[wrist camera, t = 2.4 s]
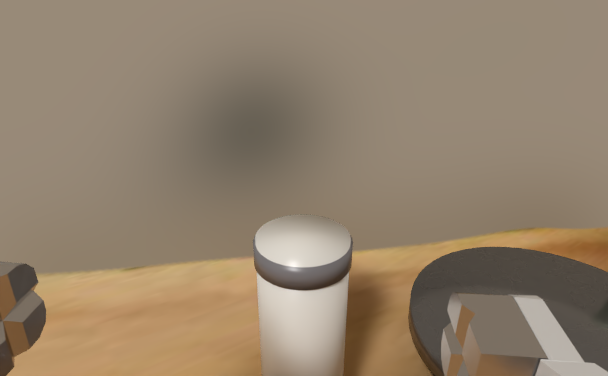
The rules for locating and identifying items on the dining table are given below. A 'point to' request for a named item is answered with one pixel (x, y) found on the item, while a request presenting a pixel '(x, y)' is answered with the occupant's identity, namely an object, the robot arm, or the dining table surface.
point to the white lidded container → (302, 295)
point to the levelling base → (512, 281)
